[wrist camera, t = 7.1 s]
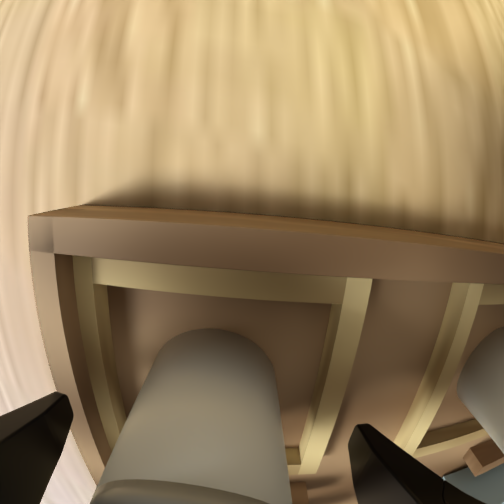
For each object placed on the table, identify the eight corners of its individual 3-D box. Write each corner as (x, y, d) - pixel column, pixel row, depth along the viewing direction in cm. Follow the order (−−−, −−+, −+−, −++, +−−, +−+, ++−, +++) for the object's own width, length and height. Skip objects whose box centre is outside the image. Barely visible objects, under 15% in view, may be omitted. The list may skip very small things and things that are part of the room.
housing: (516, 437, 14) (545, 473, 9) (128, 480, 13) (105, 548, 8) (589, 260, 11) (638, 281, 5) (80, 205, 10) (-32, 229, 4)
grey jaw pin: (268, 426, 11) (280, 573, 4) (158, 416, 11) (115, 553, 4) (282, 333, 10) (321, 513, 3) (150, 321, 10) (55, 475, 3)
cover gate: (518, 453, 13) (540, 482, 9) (429, 493, 13) (450, 537, 8) (531, 435, 13) (555, 464, 8) (443, 476, 12) (468, 521, 8)
